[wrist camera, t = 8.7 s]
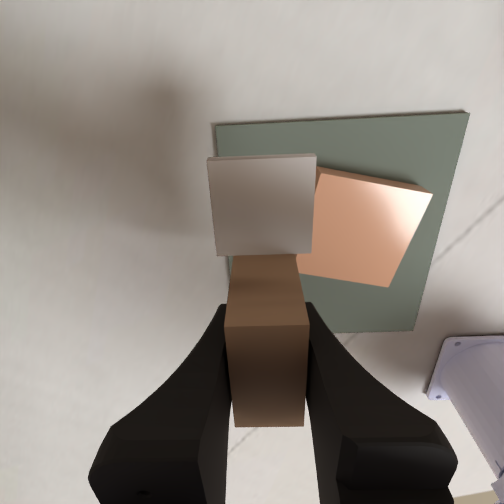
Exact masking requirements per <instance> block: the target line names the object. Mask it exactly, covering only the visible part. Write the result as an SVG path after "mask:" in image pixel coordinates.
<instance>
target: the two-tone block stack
mask: <svg viewBox="0 0 504 504" xmlns="http://www.w3.org/2000/svg"><path fill="white" fill-rule="evenodd" d="M316 160H317V156H316V155H315V154H314V153H305V154H280V155H254V156H229V157H209V158H208V159H207V169H208V178H209V188H210V197H211V206H212V215H213V225H214V234H215V243H216V252H217V256H233V262H232V269H231V277H230V285H229V292H228V300H227V307H226V315H225V322H224V332H225V341H226V350H227V359H228V368H229V378H230V387H231V396H232V405H233V414H234V423H235V427H298V426H304V413H305V396H306V380H307V363H308V346H309V329H310V324H309V319H308V314H307V310H306V305H305V300H304V295H303V291H302V286H301V281H300V276H299V272H298V267H297V262H296V258H295V254H306V253H311V251H312V233H313V215H314V196H315V178H316Z"/></svg>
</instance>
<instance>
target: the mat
mask: <svg viewBox="0 0 504 504" xmlns="http://www.w3.org/2000/svg"><path fill="white" fill-rule="evenodd" d="M469 116H470V113H467V112H464V113H445V114H426V115H407V116H388V117H368V118H349V119H330V120H311V121H292V122H273V123H253V124H234V125H216V126H215V129H216V139H217V149H218V157H229V156H254V155H280V154H305V153H314V154H315V155H316V156H317V160H316V166H318V167H324V168H329V169H334V170H339V171H345V172H350V173H355V174H361V175H366V176H371V177H376V178H382V179H387V180H392V181H398V182H403V183H408V184H414V185H419V186H422V187H423V188H425V189H426V190H428V191H429V192H431V193H432V194H433V196H432V198H431V200H430V202H429V204H428V206H427V208H426V210H425V212H424V214H423V216H422V218H421V221H420V223H419V225H418V227H417V229H416V231H415V233H414V235H413V237H412V239H411V241H410V243H409V245H408V248H407V250H406V252H405V254H404V256H403V258H402V260H401V262H400V264H399V266H398V268H397V270H396V272H395V275H394V277H393V279H392V281H391V283H390V285H389V287H382V286H376V285H370V284H364V283H358V282H351V281H345V280H339V279H333V278H326V277H320V276H314V275H308V274H301V273H299V276H300V281H301V286H302V291H303V295H304V300H305V302H311V303H313V305H314V306H315V308H316V310H317V311H318V313H319V315H320V316H321V318H322V319H323V321H324V322H325V324H326V325H327V326H328V328H329V329H330V330H331V332H332V333H358V332H391V331H413V329H414V325H415V322H416V318H417V314H418V310H419V306H420V303H421V299H422V295H423V291H424V287H425V283H426V280H427V276H428V272H429V268H430V264H431V261H432V257H433V253H434V249H435V245H436V242H437V238H438V234H439V230H440V226H441V223H442V219H443V215H444V211H445V207H446V203H447V200H448V196H449V192H450V188H451V184H452V181H453V177H454V173H455V169H456V165H457V162H458V158H459V154H460V150H461V146H462V143H463V139H464V135H465V131H466V127H467V123H468V120H469ZM228 259H229V269H230V277H231V269H232V262H233V256H228Z"/></svg>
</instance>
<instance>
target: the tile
mask: <svg viewBox="0 0 504 504" xmlns="http://www.w3.org/2000/svg"><path fill="white" fill-rule="evenodd" d="M432 196H433V194H432V193H431V192H429V191H428V190H426V189H425V188H423V187H422V186H419V185H414V184H408V183H403V182H398V181H392V180H387V179H382V178H376V177H371V176H366V175H361V174H355V173H350V172H345V171H339V170H334V169H329V168H324V167H318V166H316V178H315V196H314V215H313V233H312V251H311V253H306V254H295V258H296V262H297V267H298V272H299V273H301V274H308V275H314V276H320V277H326V278H333V279H339V280H345V281H351V282H358V283H364V284H370V285H376V286H382V287H389V285H390V283H391V281H392V279H393V277H394V275H395V272H396V270H397V268H398V266H399V264H400V262H401V260H402V258H403V256H404V254H405V252H406V250H407V248H408V245H409V243H410V241H411V239H412V237H413V235H414V233H415V231H416V229H417V227H418V225H419V223H420V221H421V218H422V216H423V214H424V212H425V210H426V208H427V206H428V204H429V202H430V200H431V198H432Z"/></svg>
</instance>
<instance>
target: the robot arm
mask: <svg viewBox="0 0 504 504" xmlns="http://www.w3.org/2000/svg"><path fill="white" fill-rule="evenodd" d="M305 305H306V310H307V314H308V319H309V324H310V329H309V346H308V363H307V380H306V401H307V405H308V410H309V416H310V422H311V430H312V438H313V446H314V454H315V463H316V471H317V480H318V489H319V498H320V504H454V500H453V497H452V495H451V493H450V491H449V489H448V485H449V483H450V481H451V479H452V477H453V475H454V473H455V471H456V468H457V464H458V460H457V456H456V454H455V452H454V450H453V448H452V446H451V445H450V443H449V441H448V439H447V438H446V436H445V435H444V433H443V432H442V430H441V429H440V427H439V426H438V424H437V423H436V421H434V420H433V419H431V418H429V417H428V416H426V415H425V414H423V413H422V412H420V411H418V410H417V409H415V408H414V407H412V406H411V405H409V404H408V403H406V402H405V401H403V400H402V399H401V398H399V397H398V396H396V395H395V394H394V393H392V392H391V391H390V390H389V389H387V388H386V387H385V386H384V385H383V384H381V383H380V382H379V381H378V380H376V379H375V378H374V377H373V376H372V375H371V374H370V373H369V372H367V371H366V370H365V369H364V368H363V367H362V366H361V365H360V364H359V363H358V362H357V361H356V360H355V359H354V358H353V357H352V356H351V355H350V353H349V352H348V351H347V350H346V349H345V348H344V347H343V345H342V344H341V343H340V342H339V341H338V339H337V338H336V337H335V336H334V334H333V333H332V332H331V330H330V329H329V328H328V326H327V325H326V324H325V322H324V321H323V319H322V318H321V316H320V315H319V313H318V311H317V310H316V308H315V306H314V305H313V303H311V302H305ZM226 307H227V304H221V305H220V306H219V307H218V309H217V311H216V313H215V315H214V317H213V319H212V321H211V322H210V324H209V326H208V327H207V329H206V331H205V332H204V334H203V335H202V337H201V339H200V340H199V341H198V343H197V344H196V346H195V347H194V348H193V350H192V351H191V353H190V354H189V355H188V356H187V358H186V359H185V360H184V361H183V363H182V364H181V365H180V366H179V367H178V368H177V370H176V371H175V372H174V373H173V374H172V375H171V376H170V377H169V378H168V379H167V380H166V381H165V382H164V383H163V384H162V385H161V386H160V387H159V388H158V389H157V390H156V391H155V392H154V393H153V394H151V395H150V396H149V397H148V398H147V399H146V400H145V401H144V402H142V403H141V404H140V405H139V406H138V407H136V408H135V409H134V410H133V411H131V412H130V413H129V414H127V415H126V416H125V417H123V418H122V419H120V420H119V421H118V422H116V423H115V424H114V425H112V426H111V427H110V429H109V431H108V433H107V435H106V436H105V438H104V440H103V442H102V444H101V446H100V448H99V450H98V452H97V455H96V457H95V459H94V462H93V464H92V467H91V469H90V471H89V475H88V480H89V483H90V486H91V488H92V490H93V491H94V493H95V495H96V497H97V499H98V500H99V502H100V504H225V495H226V471H227V450H228V431H229V417H230V408H231V402H232V396H231V387H230V378H229V368H228V359H227V350H226V341H225V332H224V322H225V315H226ZM426 395H427V397H428V399H430V400H451V402H452V403H453V405H454V407H455V409H456V410H457V412H458V414H459V415H460V417H461V419H462V420H463V422H464V424H465V425H466V427H467V429H468V430H469V432H470V434H471V435H472V437H473V439H474V441H475V442H476V444H477V446H478V447H479V449H480V451H481V452H482V454H483V456H484V457H485V459H486V461H487V462H488V464H489V466H490V468H491V469H492V471H493V473H494V474H495V476H496V478H497V479H498V480H497V481H496V482H494V483H492V484H491V486H492V487H493V489H494V491H495V493H496V495H497V496H498V498H499V500H498V501H496V502H495V504H504V335H503V336H470V337H448V338H446V339H445V341H444V343H443V346H442V349H441V352H440V355H439V358H438V361H437V364H436V367H435V370H434V373H433V376H432V379H431V382H430V385H429V388H428V391H427V394H426Z"/></svg>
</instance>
